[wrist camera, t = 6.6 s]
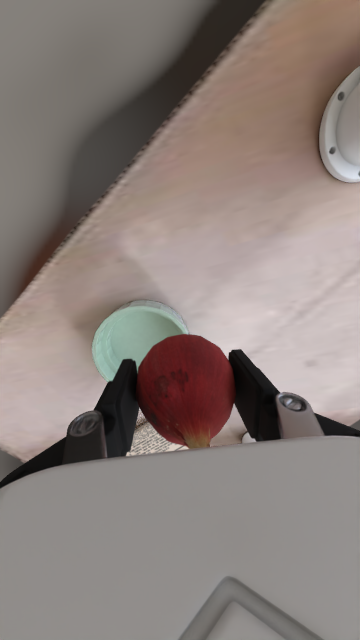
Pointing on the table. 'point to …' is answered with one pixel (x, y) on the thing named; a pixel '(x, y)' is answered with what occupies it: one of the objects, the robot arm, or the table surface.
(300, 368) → the table surface
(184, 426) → the onion
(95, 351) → the bowl
